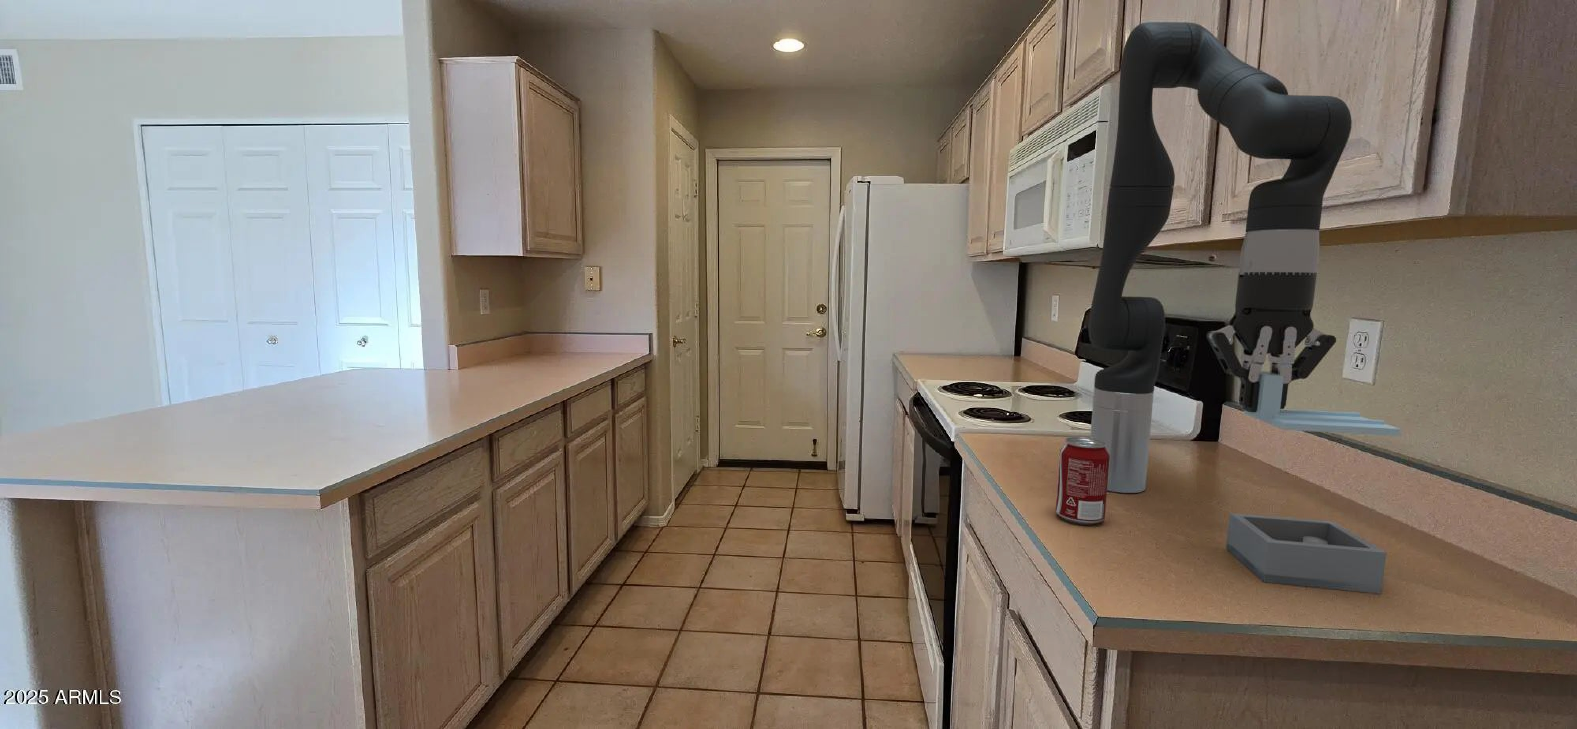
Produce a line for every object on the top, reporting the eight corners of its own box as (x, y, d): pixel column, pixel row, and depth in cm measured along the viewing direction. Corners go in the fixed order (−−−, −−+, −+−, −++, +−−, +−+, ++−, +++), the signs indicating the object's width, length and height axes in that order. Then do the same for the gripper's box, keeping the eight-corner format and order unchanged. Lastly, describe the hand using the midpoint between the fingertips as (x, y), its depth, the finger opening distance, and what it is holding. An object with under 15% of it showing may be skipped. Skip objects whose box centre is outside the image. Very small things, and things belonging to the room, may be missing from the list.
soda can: (1110, 529, 93) (1116, 448, 91) (1060, 524, 94) (1066, 445, 92) (1097, 512, 99) (1103, 437, 98) (1051, 509, 101) (1056, 434, 99)
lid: (1233, 413, 84) (1238, 367, 83) (1346, 418, 81) (1352, 371, 80) (1271, 429, 75) (1277, 378, 74) (1400, 436, 72) (1407, 383, 71)
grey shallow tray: (1226, 548, 86) (1230, 513, 86) (1328, 557, 84) (1333, 521, 83) (1263, 582, 77) (1268, 542, 76) (1380, 593, 74) (1386, 552, 73)
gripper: (1324, 271, 79) (1307, 409, 81) (1200, 270, 82) (1187, 403, 84) (1364, 270, 72) (1344, 421, 74) (1227, 268, 74) (1211, 414, 77)
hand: (1260, 411), depth 79 cm, fingers closed on lid
